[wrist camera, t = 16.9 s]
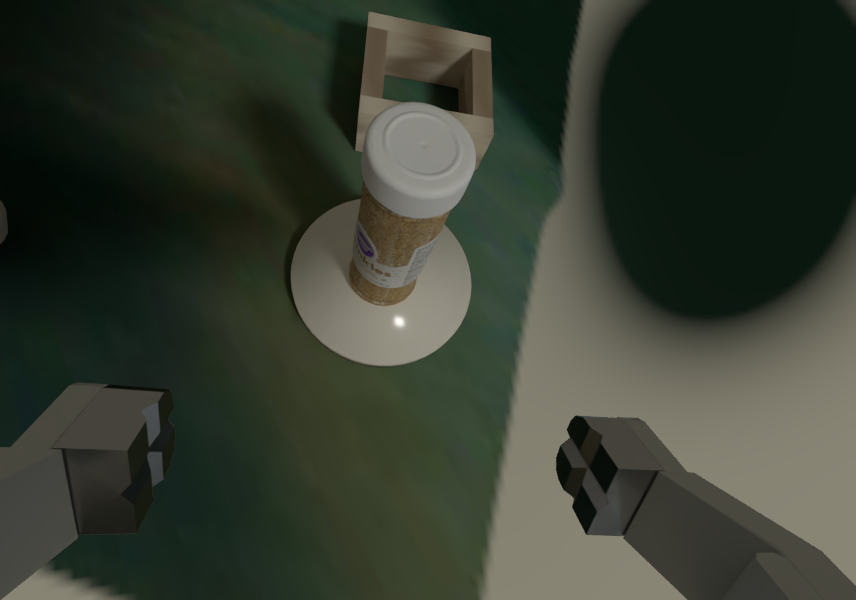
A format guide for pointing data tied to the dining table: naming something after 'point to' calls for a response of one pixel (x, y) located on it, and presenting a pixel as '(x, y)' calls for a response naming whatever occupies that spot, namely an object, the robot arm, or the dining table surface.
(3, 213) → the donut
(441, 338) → the white domed disc
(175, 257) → the dining table surface
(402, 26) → the holder collar
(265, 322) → the dining table surface
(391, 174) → the sprinkles bottle
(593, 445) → the robot arm
